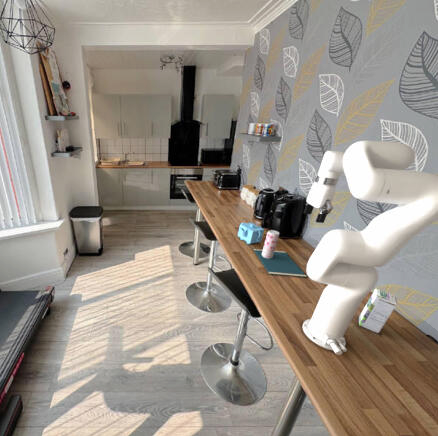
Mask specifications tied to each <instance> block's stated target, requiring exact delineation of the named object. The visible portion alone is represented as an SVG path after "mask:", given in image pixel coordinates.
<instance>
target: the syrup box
mask: <svg viewBox="0 0 438 436" xmlns="http://www.w3.org/2000/svg"><path fill="white" fill-rule="evenodd" d="M397 306H398V300H397V296H396V295H395V294H392V293H390V292H387V291H385V290H382V289H378V288H375V289H374V290H373V292H372V294H371V296H370V297H369V299H368V301H367V303H366V304H365V306H364V307H363V309H362V311H361V312H360V314H359V317H358V325H359V326H360V327H362V328H364V329H367V330H370V331H371V332H374V333H376V334H379V333H381V331H382V329H383V327H384V326H385V324H386V322H388V319H389V318H390V316H391V315H392V313H393V312H394V310H395V308H396V307H397Z"/></svg>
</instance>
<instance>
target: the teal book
mask: <svg viewBox="0 0 438 436" xmlns="http://www.w3.org/2000/svg"><path fill="white" fill-rule="evenodd" d="M253 251H254V253H255V255H256V256H257V257H258V259H259V261H260V262H261V263H262V265H263V266H264V268H265V270H266V271H267V273H268V274H269V275H273V276H285V277H295V278H297V277H298V278H308V275H307V274H305V272H304V271H303V270H302V269H301V268H300V266H298V265H297V263H296V262H295V261H294V260H293V259H292V258H291V256H289V254H288V253H287V251H285V250H275V251H274V254H273V257H272V258H270V259H268V258H265V257H263V256H262V251H263V249H261V248H260V249H259V248H253Z"/></svg>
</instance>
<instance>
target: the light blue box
mask: <svg viewBox="0 0 438 436" xmlns="http://www.w3.org/2000/svg"><path fill="white" fill-rule="evenodd" d="M264 234H265V229H264V228H263V227H262V226H261V225H257V224H255V223H253V222H247V223H246V222H241V223H240V224H239V228H238V231H237V237H239V238H240V240H241V241H245V243H246V244H247V245H251V244H258V243H261V242H262V240H263V238H264V237H263V236H264Z"/></svg>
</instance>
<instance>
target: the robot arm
mask: <svg viewBox="0 0 438 436" xmlns="http://www.w3.org/2000/svg"><path fill="white" fill-rule="evenodd" d="M415 160H416V151H415V150H414V148H413V147H412V146H410V145H408V144H406V143H403V142H397V141H383V140H381V141H380V140H359V141H355V142H354V143H352V144H351V145H349V147H347V149H346V150H345V151H341V150H327V151H326V152H325V153H324V154H323V157H322V160H321V162H320V167H319V169H318V172H317V175H316V177H315V181H314V182H313V184H312V185H311V188H310V190H309V192H308V194H307V195H306V203H305V208H304V210H303V214H304V215H312V213H313V210H314V208H315V209H318V210H319V213H317V216H316V219H315V222H316V223H318V224H324V223H325V221H326V218H327V215H329V214H330V213H331V212H332V211H333V209H334V206H333V204H332V203H333V199H334V196H335V194H336V193H335V192H336V187H337V184H338V183H339V180H340V176H341V174H344V175H345V178H346V182H347V185H348V189H349V192H350V194H351V195H352V197H353V198H355V199H358V200H359V201H365V202H372V203H379V204H380V203H381V204H389V205H390V204H391V205H397V206H396V207H393V208H391V209H388V210H386V211H384V212H382V213H380V214H378V215H377V216H375V217H374V218H373V219H372V220H371V221H370V222H369V223H368V225H367V226H366V227H365V228H364V229H362V230H350V229H342V228H336V229H331V230H330V231H328V232H326V233H325V234H324V235H323V237H322V238H321V239H320V241H319V242H318V245H317V246H316V247H315V250H314V251H313V252H312V254H311V255H310V257H309V259H308V261H307V263H306V269H305V270H306V276H307V277H308V278H309V279H310V280H311V281H313V282H316V283H318V284H319V283H320V284H324V285H326V287H325V288H324V289H323V291H322V293H321V295H320V297H319V300H318V302H317V305H316V307H315V309H314V311H313V314H312V316H311V318H308V319H306V320H304V321H303V323H302V331H303V333H304V334H305V335H306V337H307V338H308V339H309V340H310V341H312V342H313V343H314V344H316V345H317V346H319V347H322V348H323V349H326V350H329V351H333V352H334V353H335V355H336V356H341V355H343V353H347V351H348V349H347V348H346V343H347V342H346V339H345V337H344V335H345V333H346V331H347V329H348V328H349V326H350V324H351V322H352V320H353V318H354V316H355V315H356V313H357V311H358V309H359V307H360V306H361V303H362V302H363V300H364V299H365V298H366V296H367V295H368V294H369V293H370V292H371V291H372V290H373V289H374V288H375V287H376V285H377V283H378V282H379V272H378V270H377V268H381V267H384V266H386V265H387V264H388V263H389V262H390V261H392V259H394V258H395V257H396V256H397V255H398V254H399V253H400V252H401V251H402V250H403V249H404V247H406V246H407V244H409V242H410V241H411V240H412V239H414V237H415V236H417V235H418V234H420V232H422V231H424V230H425V229H426V228H428V227H429V226H430V225H432V224H434V222H436V221H437V220H438V174H435V173H430V172H426V171H420V170H419V171H417V170H407V169H408V168H409V167H410V166H412V165H413V163H414V162H415Z"/></svg>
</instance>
